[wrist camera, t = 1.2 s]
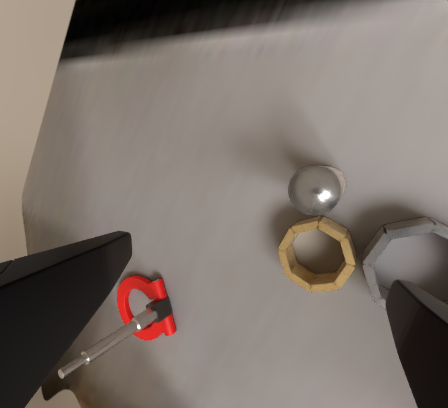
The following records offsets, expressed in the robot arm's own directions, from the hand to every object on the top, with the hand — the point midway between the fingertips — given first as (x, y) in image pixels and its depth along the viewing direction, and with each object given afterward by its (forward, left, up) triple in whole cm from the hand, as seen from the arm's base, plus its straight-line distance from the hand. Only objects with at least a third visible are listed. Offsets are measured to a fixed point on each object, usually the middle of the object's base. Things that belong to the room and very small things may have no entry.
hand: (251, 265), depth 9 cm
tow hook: (+12, +22, -16) cm, 30 cm away
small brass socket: (-2, +3, -16) cm, 16 cm away
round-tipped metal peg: (0, -2, -16) cm, 16 cm away
